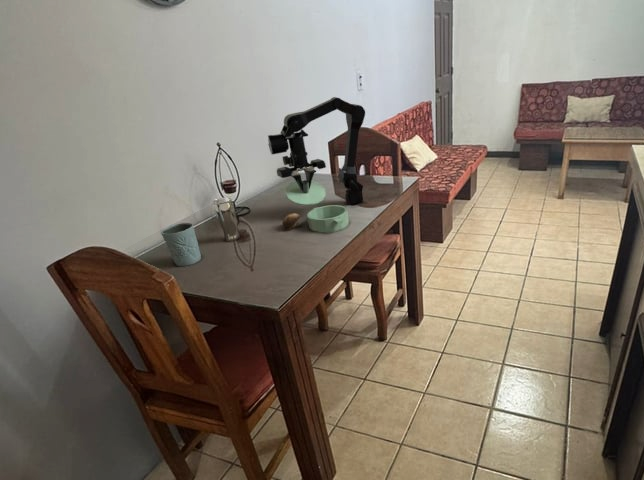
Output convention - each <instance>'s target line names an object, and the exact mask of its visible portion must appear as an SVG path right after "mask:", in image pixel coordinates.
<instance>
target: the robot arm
mask: <svg viewBox="0 0 644 480" xmlns="http://www.w3.org/2000/svg"><path fill="white" fill-rule="evenodd" d="M337 110H338V111H339V112H341V113H343V114H345V120H346V125H347V132H346V144H345V151H344V161H343V165H342V167H338V175H337V178H338V182H339V183H340V185H341V186H343V187H344V189H345V194H344V195H345V196H344V197H345V204H346V205H349V206H351V207H355V206H357V205H361V204H365V203H366V201H365V200H364V197H363V188H364V185H363V184H361V183H360V182H358V173H357V170H356V162H357V161H356V160H357V153H358V146H359V145H358V143H359V135H360V130H361V127H362V125H363V124H364V122H365V121H364V120H365V118H366V117H365V116H366V110H365V108H364V107H363V106H362V105H360V104H356V103H350V102H348V101H345V100H344V99H342V98H341V97H336V96H333V97H331V98H330V99H328V100H325V101H324V102H321V103H320V104H316V105H314V106H313V107H311V108H308V109H306V110H303V111H299V112H298V111H297V112H294V113H290V114H287V115H285V116H284V119H283V126H282V129H281V131H280V133H278V134H268V135H267V138H268V145H267V146H268V150H269V152H270V154H271V155H279V154H283V153H287V152H288V151H289V150H290V152H289V156H288V155H284V156H282V157H281V158H282V162H283V165H284V166H282V167H278V168H277V169H276V175H277V176H278V177H280V178H281V179H285V178H290V177H291V178H293V179H294V181H296V182H297V184H298V185H299V187H300V189H301V190H302V191H303V185H302V180H303V179H302V175H301V174H300V173H299V172H301V171H303V172H304V174H305V180H306V181H308V182H309V189H310V186H311V181H313V178H314V175H315V173H316V172H317V170H316V169H318V170H322V169H326V168H327V165H326V161H325V160H323V159H320V158H316V159H312V160H310V162H309V161H308V155H309V154H308V152H307V151H306V145H305V139H304V138H305V137H308V136H309V134H308V132H305V130H304V128H305V127H306V126H308V125H309V124H310V123H311V122H313V121H315V120H317V119H320V118H321V117H324V116H325V115H328V114H330V113H332V112H335V111H337ZM287 165H288V166H287ZM315 168H316V169H315Z"/></svg>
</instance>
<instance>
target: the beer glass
mask: <svg viewBox="0 0 644 480" xmlns="http://www.w3.org/2000/svg"><path fill="white" fill-rule="evenodd" d="M212 206H213V210H214V214H215V217H216V219H217V221H218V223H219V225H220V227H221V229H222V231H223V235H224V236H223V237H224V241H225V242H227V243H230V242H231V243H232V242H235V241H238V240H240V239H241V238H242V234H241V232H240V230H239V228H238V227H239V226H238V220H237V213H236V208H235V206H234V203H233V201H232V198H231V197H229V196H227V197H224V196H223V197H219V198H216V199H214V200H212Z"/></svg>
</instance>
